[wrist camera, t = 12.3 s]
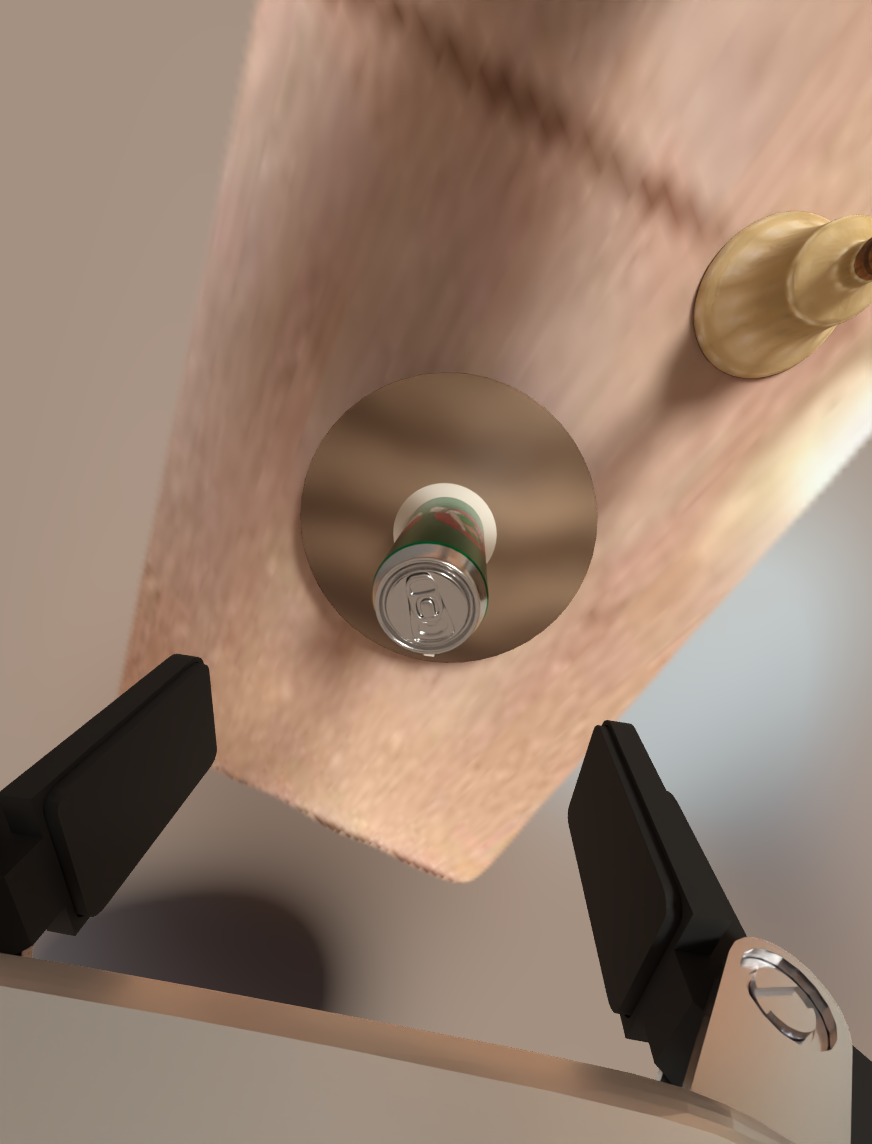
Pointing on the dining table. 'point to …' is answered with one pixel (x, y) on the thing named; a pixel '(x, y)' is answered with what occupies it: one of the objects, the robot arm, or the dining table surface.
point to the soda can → (434, 579)
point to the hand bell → (782, 291)
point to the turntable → (458, 470)
